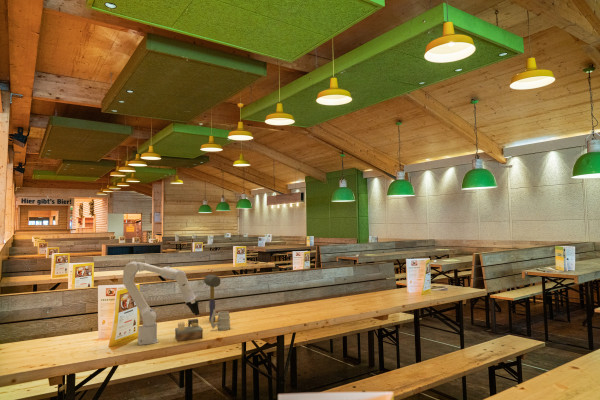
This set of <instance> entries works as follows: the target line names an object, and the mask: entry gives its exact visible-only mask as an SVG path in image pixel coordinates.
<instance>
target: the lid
mask: <svg viewBox="0 0 600 400" xmlns="http://www.w3.org/2000/svg"><path fill="white" fill-rule="evenodd" d="M175 331H176V332H177V334H184V333H192V332H200V331H203V328H202V327H201V326H200V325H199V324H198V326H195V327H193V326H192V325H190V327H188V326H186V325H185V322H184V321H182V322H179V321H178V322H177V327H175V328H174V332H175Z"/></svg>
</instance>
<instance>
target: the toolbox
mask: <svg viewBox="0 0 600 400" xmlns="http://www.w3.org/2000/svg"><path fill="white" fill-rule="evenodd" d="M194 321H196V322H197V323H198V324H199V319H198V318H191V319H188V321H187V325H188V326H187V327H190V326H191V324H190V322H194ZM174 335H175V336H174V337H175V339H176V341H177V342H178V343H180V342H186V341H187V342H188V341H195V340H202V338H203V335H204V334H203V331H200V332H192V333H184V334H177V332H176V331H175V330H174Z"/></svg>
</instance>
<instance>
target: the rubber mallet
mask: <svg viewBox="0 0 600 400" xmlns="http://www.w3.org/2000/svg"><path fill="white" fill-rule="evenodd" d="M204 284H205V285H206V286H208V287H209V290H210V291H209V292H210V294H209V297H210V298H209V302H208V303H209V305H208V308H209V318H208V320H209V323H211V321H210V320H211V317H212V314H213V310H215V311H216V299H215V288H217V287H218V286H220V285H221V278H220V277H219V276H217V275H216V274H215V275H214V274H207V275H206V276H205V277H204ZM215 321H216V317H215V318H214V322H215Z"/></svg>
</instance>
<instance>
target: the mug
mask: <svg viewBox="0 0 600 400" xmlns="http://www.w3.org/2000/svg"><path fill="white" fill-rule="evenodd" d="M217 316H218V317H217ZM216 317H217V322H215V321H214V318H215V319H216ZM230 318H231V316H230V311H227V310H226V311H225V310H223V311H222V310H221V311H218V313H217V311H216V309H215V310H213V314H212V317H211V320H210V321H211V322H210V321H209V322H210V326H211V328H212V329H215V328H216V327H217V330H218V331H228V330H230V329H231V324H230V323H231V322H230V320H231V319H230Z"/></svg>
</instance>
